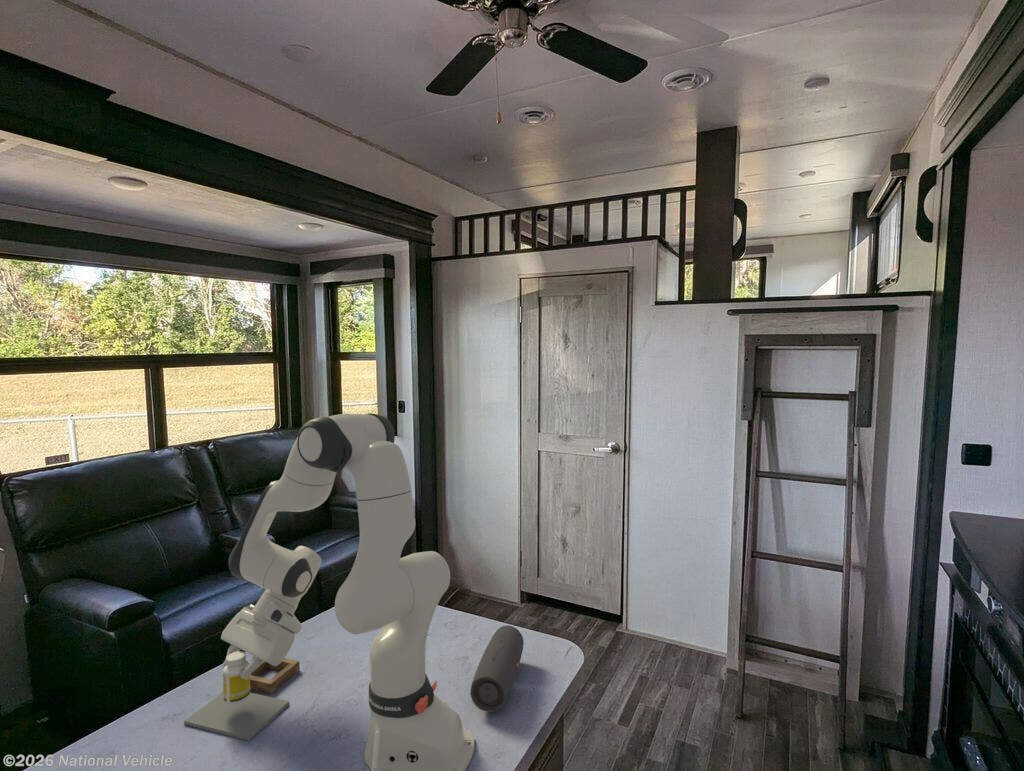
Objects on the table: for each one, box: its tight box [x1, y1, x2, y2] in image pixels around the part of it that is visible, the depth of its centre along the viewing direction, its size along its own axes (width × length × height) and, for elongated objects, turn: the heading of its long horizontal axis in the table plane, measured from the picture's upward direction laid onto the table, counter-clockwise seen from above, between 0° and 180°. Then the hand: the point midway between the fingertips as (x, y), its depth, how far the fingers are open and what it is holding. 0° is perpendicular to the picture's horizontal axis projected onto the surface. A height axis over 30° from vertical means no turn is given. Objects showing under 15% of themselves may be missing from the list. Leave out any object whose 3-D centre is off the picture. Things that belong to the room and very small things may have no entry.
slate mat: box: [183, 691, 290, 742], centre depth 117 cm, size 18×12×1 cm, turn 73°
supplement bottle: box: [222, 650, 251, 704], centre depth 117 cm, size 5×5×10 cm
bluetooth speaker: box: [470, 624, 524, 713], centre depth 126 cm, size 23×9×10 cm, turn 168°
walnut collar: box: [250, 657, 300, 695], centre depth 130 cm, size 10×10×2 cm
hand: (233, 673), depth 116 cm, fingers closed on supplement bottle, 5 cm apart
